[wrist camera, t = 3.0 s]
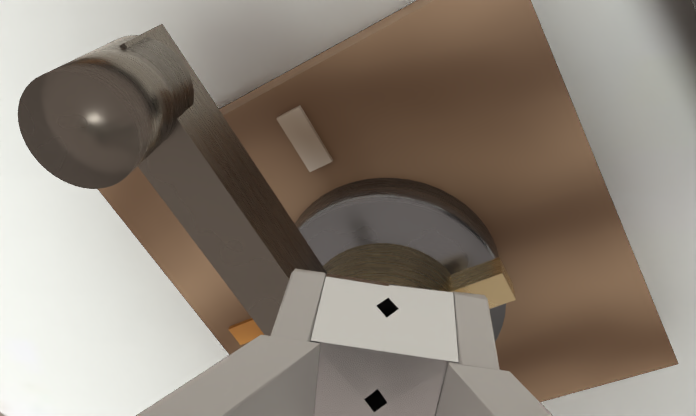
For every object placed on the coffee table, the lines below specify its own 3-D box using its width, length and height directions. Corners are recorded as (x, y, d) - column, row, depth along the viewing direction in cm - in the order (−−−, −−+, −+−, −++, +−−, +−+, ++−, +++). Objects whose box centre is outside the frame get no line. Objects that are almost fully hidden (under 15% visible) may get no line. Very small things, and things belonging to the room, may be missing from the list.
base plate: (662, 332, 26) (680, 367, 25) (322, 432, 32) (315, 467, 31) (506, -49, 20) (514, -42, 18) (117, 165, 26) (92, 187, 24)
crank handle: (536, 327, 22) (584, 532, 15) (318, 397, 25) (274, 593, 18) (325, -82, 16) (244, -59, 9) (78, 75, 19) (-120, 180, 12)
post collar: (534, 319, 25) (542, 352, 23) (348, 380, 28) (343, 413, 26) (442, 139, 21) (443, 162, 20) (242, 230, 24) (227, 257, 23)
